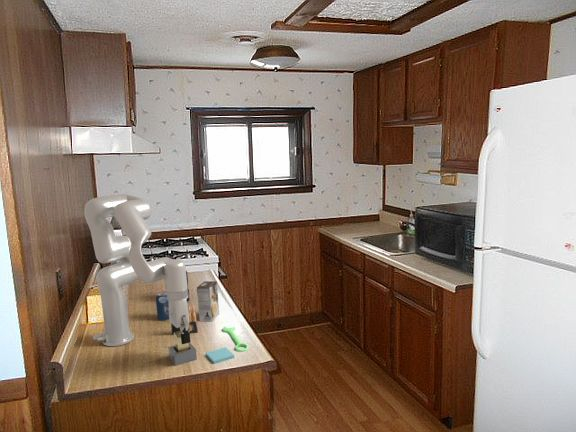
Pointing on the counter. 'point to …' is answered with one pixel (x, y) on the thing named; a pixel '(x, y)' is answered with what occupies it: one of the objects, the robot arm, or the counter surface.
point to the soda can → (162, 306)
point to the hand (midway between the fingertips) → (181, 338)
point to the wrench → (235, 339)
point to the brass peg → (179, 343)
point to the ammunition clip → (190, 321)
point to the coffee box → (208, 301)
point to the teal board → (219, 355)
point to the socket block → (182, 355)
